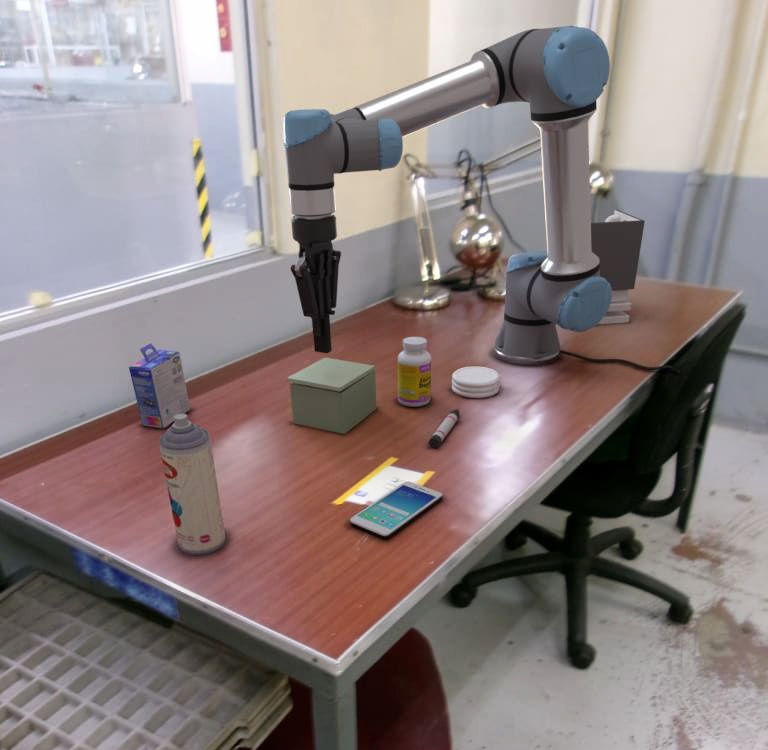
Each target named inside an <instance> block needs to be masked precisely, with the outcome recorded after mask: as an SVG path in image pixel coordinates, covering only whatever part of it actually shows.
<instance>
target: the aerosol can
mask: <svg viewBox="0 0 768 750" xmlns="http://www.w3.org/2000/svg"><path fill="white" fill-rule="evenodd" d="M172 423H173V424H172V425H171V426H170V427H169V428H167V430H166V431H165V433H163V434H162V435H161V436H160V437H159V452H160V456H161V462H162V467H163V474H164V477H165V483H166V487H167V493H168V498H169V504H170V509H171V514H172V519H173V525H174V529H175V535H176V539H177V544H178V548H179V550H180V551H181V552H183V553H184V554H186V555H191V556H204V555H209V554H211V553H214V552H217V551H218V550H219V549H221V548H222V547H224V545H225V544H226V541H227V538H226V537H227V536H226V531H225V525H224V519H223V512H222V505H221V498H220V493H219V485H218V479H217V473H216V466H215V460H214V453H213V447H212V439H211V437H210V436H209V434H210V433H209V432H208V431H207V430H206V429H204V428H201V427H199V425H197V424H195V423H194V422H191V421H190V420H189V418H188V415H187V414H186V413H184V414H178V415H175V416H174V421H173V422H172Z"/></svg>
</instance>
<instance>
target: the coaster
mask: <svg viewBox="0 0 768 750" xmlns="http://www.w3.org/2000/svg"><path fill="white" fill-rule="evenodd" d="M451 379H452V380H451V390H452V392H453V393H455V394H456V395H458V396H460V397H463V398H467V399H484V398H490V397H493V396H494V395H497V393H498V392H500V391H499V390H500V389H501V388H500V385H501V381H500V380H501V375H500V373H499V372H497V370H495V369H493V368H490V367H486V366H477V365H476V366H474V365H473V366H465V367H461V368H458V369H456V370H455V371H454V372H452V374H451Z"/></svg>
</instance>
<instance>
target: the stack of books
mask: <svg viewBox="0 0 768 750" xmlns="http://www.w3.org/2000/svg"><path fill="white" fill-rule="evenodd" d="M644 229H645V220H644V219H642V218H640V217H636V216H634V215H632V214H630V213H627V212H624V211H622V210H620V209H614V212H613V214H612V215H609V216H608V217H607V218H606V219H605V220H604V221H603V222H602V221H600V222H599V221H598V222H597V221H596V222H591V250H592V252H593V253H594V254H595V255H597V256H598V257H599V260H600V276H601V277H603V278H605V279H606V280H607V282H609V284H610V286H611V289H612V300H611V304H610V307H609V309H608V311H607V313H606V314H605V315H604V316H603V317H602V320H601V321H600V322H599V323H598V324H597V325H609V324H623V323H625V324H626V323H630V317H631V315H628V314H627V313H625V311H631V310H632V303H631V302H629V301H628V298H629V297H630V295H629V293H630V292H629V290H630V291H631V290H635V285H636V279H637V272H638V267H639V260H640V256H641V255H640V253H641V248H642V242H643V235H644Z"/></svg>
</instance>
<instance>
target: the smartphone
mask: <svg viewBox="0 0 768 750" xmlns="http://www.w3.org/2000/svg"><path fill="white" fill-rule="evenodd" d="M442 500H443V493H442V492H440V491H438V490H435V489H432V488H429V487H427V486H424V485H421V484H418V483H415V482H412V481H409V480H408V481H404V482H402V483H401V484H399V485H398V486H397V487H395V488H394V489H392V490H390V491H389V492H387V493H386V494H385V495H383V496H381V497H380V498H379V499H377V500H375V501H374V502H372V503H371V504H369V505H368V506H367V507H365V508H364V509H362V510H361V511H359V512H357V513H356V514H355V515H353V516H351V517H350V518H349V524H350V525H351V526H352V527H355V528H357V529H359V530H362V531H364V532H367V533H369V534H372V535H374V536H376V537H379V538H382V539H384V540H387V539H390V538H391V537H393V536H394V535H395V534H397V533H398V532H400V531H401V530H403V529H404V528H405V527H406V526H407V525H409V524H411V523H412V522H413V521H415V520H416V519H417V518H419V517H420V516H421V515H423V514H424V513H425V512H427V511H428V510H430V509H431V508H432V507H434V506H435V505H436V504H438V503H439V502H440V501H442Z"/></svg>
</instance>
